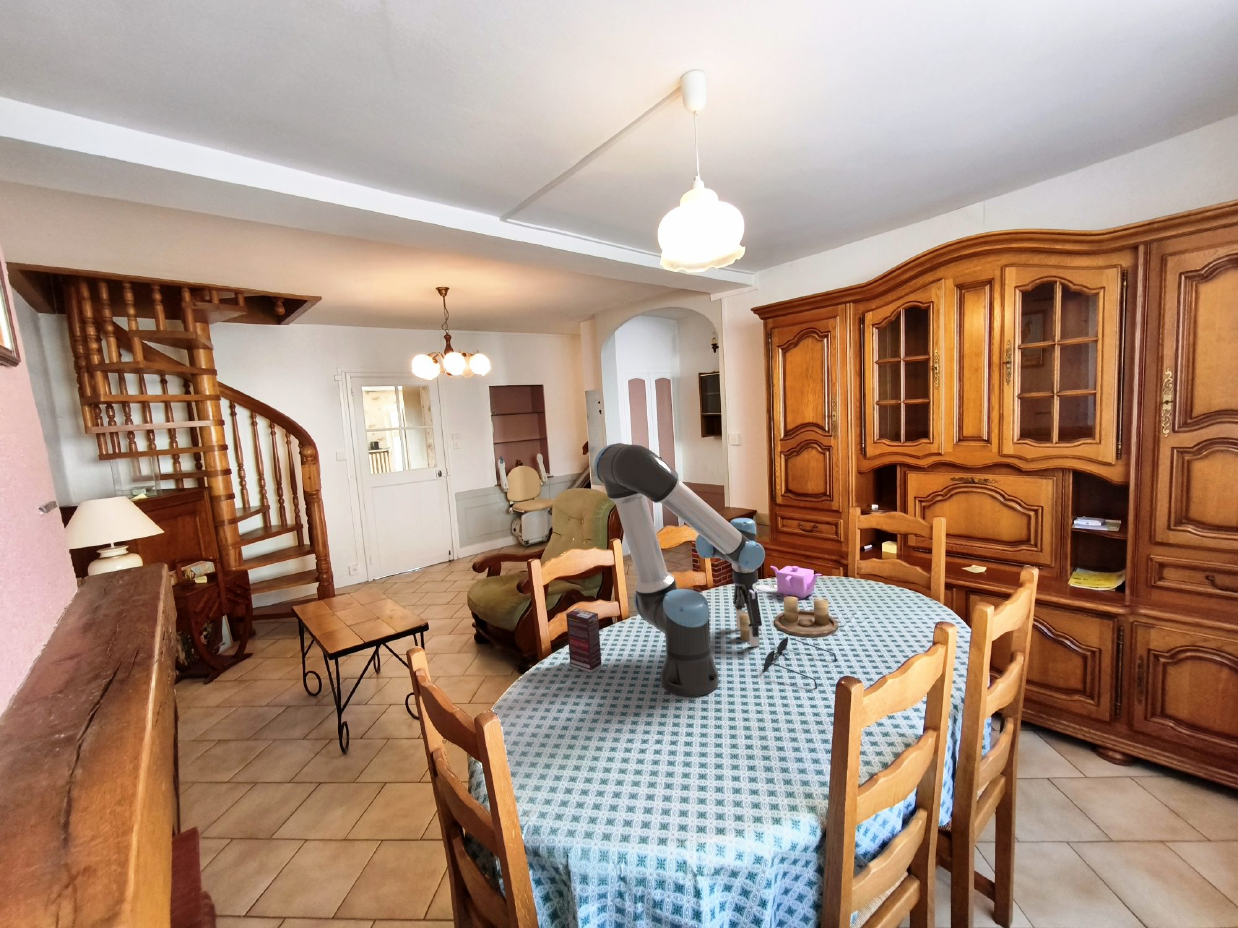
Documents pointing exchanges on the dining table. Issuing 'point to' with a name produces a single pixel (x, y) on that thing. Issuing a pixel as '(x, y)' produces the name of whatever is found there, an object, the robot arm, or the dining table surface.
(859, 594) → the dining table surface
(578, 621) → the supplement box
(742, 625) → the bead
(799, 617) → the tray
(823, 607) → the bead seated
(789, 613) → the bead
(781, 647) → the sunglasses
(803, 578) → the teapot
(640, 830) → the dining table surface
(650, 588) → the robot arm
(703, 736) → the dining table surface
